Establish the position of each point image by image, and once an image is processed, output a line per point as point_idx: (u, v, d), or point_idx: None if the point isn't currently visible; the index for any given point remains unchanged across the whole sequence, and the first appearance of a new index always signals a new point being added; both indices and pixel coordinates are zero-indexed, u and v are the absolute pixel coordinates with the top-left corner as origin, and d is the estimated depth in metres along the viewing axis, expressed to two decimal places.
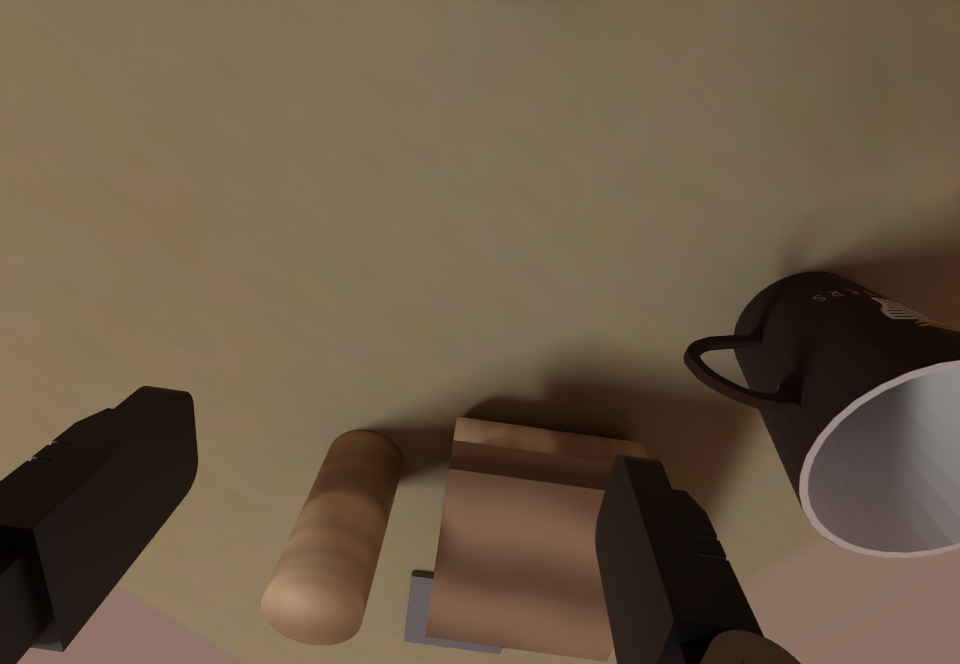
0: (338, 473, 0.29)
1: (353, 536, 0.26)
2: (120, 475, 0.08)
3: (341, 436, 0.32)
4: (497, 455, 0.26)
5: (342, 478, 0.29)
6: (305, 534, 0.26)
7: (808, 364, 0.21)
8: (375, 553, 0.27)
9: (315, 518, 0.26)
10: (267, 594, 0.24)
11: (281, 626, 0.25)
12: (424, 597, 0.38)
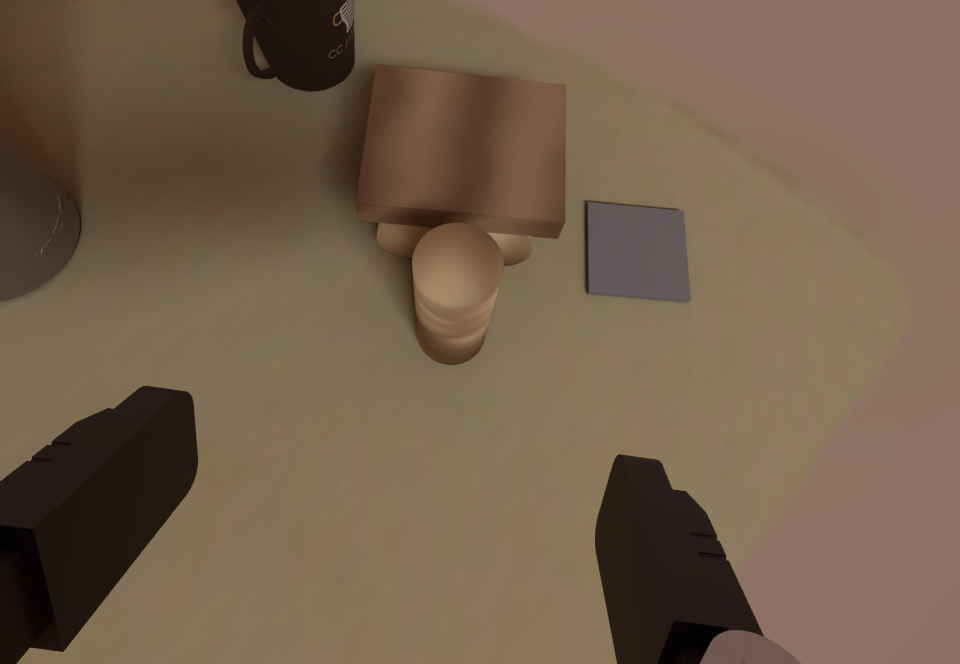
0: (416, 319, 0.33)
1: None
2: (120, 475, 0.08)
3: (423, 349, 0.35)
4: None
5: None
6: (417, 299, 0.29)
7: None
8: None
9: (416, 303, 0.30)
10: (436, 297, 0.26)
11: (481, 290, 0.26)
12: (617, 280, 0.38)
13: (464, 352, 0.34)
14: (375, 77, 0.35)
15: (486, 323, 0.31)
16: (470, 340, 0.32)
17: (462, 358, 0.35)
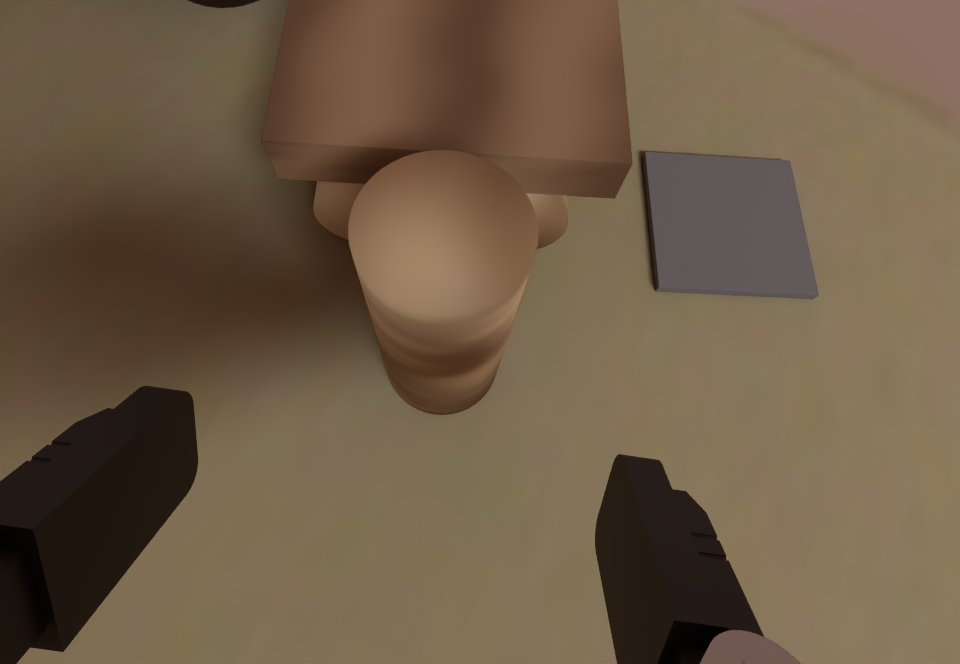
0: None
1: None
2: (119, 475, 0.08)
3: (396, 391, 0.21)
4: None
5: None
6: (368, 307, 0.15)
7: None
8: None
9: (370, 315, 0.16)
10: (400, 300, 0.12)
11: (494, 282, 0.13)
12: (702, 268, 0.24)
13: (464, 397, 0.20)
14: None
15: (502, 347, 0.17)
16: (474, 378, 0.18)
17: (462, 404, 0.21)
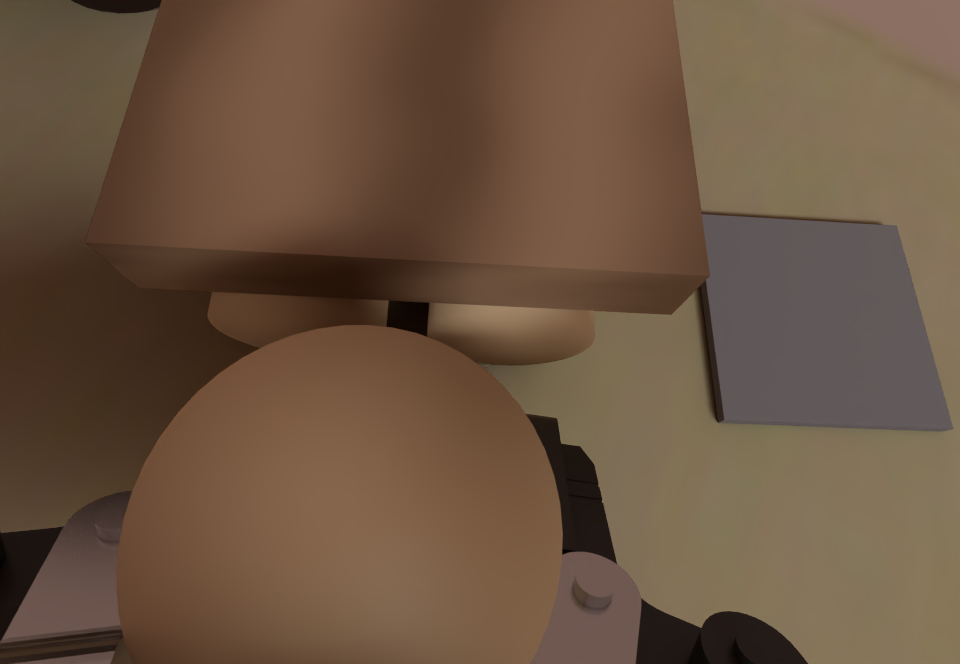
0: None
1: None
2: None
3: None
4: None
5: None
6: None
7: None
8: None
9: None
10: None
11: None
12: (784, 389, 0.17)
13: None
14: None
15: None
16: None
17: None
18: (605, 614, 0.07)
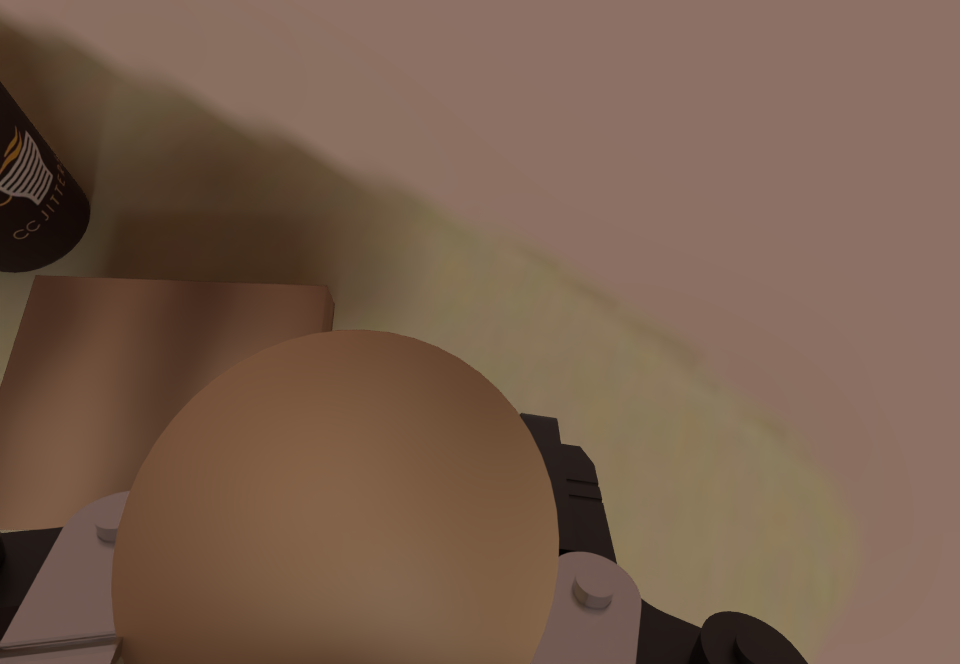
0: None
1: None
2: None
3: None
4: None
5: None
6: None
7: None
8: None
9: None
10: None
11: None
12: None
13: None
14: (30, 297, 0.23)
15: None
16: None
17: None
18: (605, 614, 0.07)
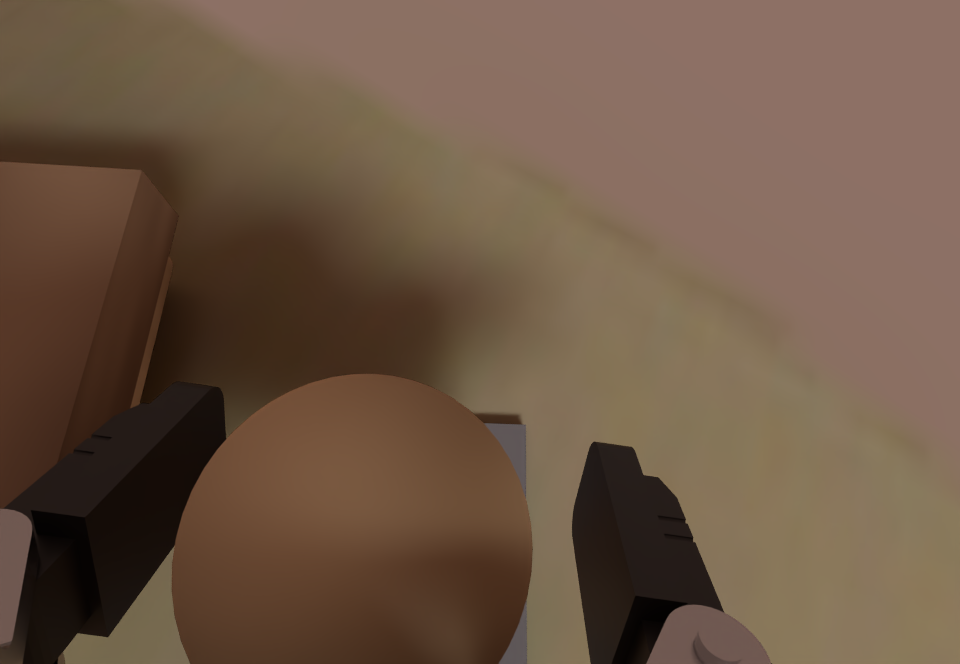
0: None
1: None
2: (159, 467, 0.09)
3: None
4: None
5: None
6: None
7: None
8: None
9: None
10: None
11: None
12: None
13: None
14: None
15: None
16: None
17: None
18: None
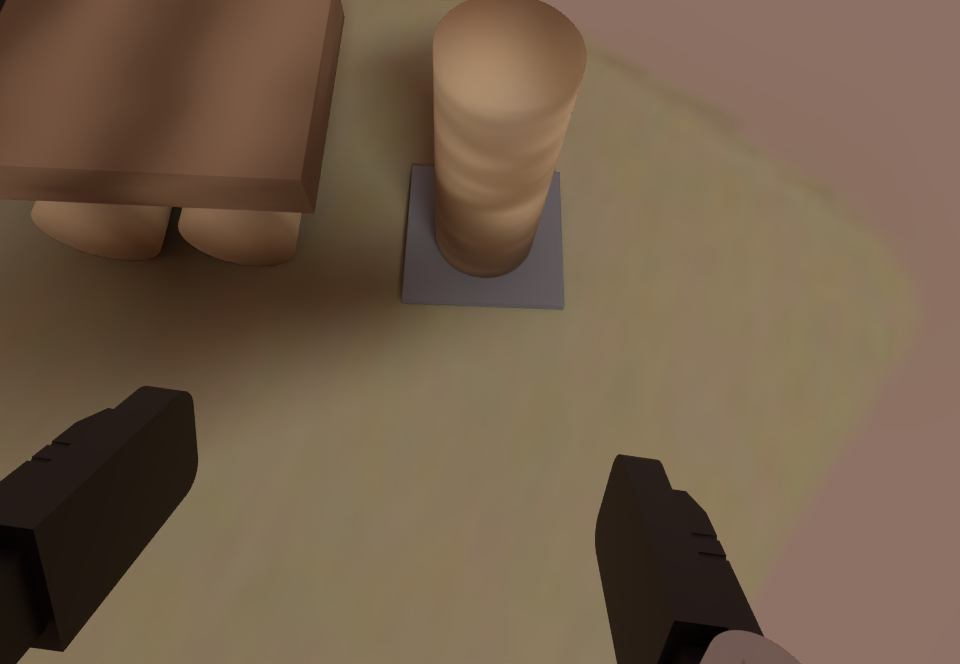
0: (436, 197, 0.22)
1: None
2: (120, 475, 0.08)
3: (446, 258, 0.24)
4: None
5: (435, 185, 0.21)
6: (440, 134, 0.18)
7: None
8: None
9: (438, 150, 0.19)
10: (478, 97, 0.15)
11: (553, 87, 0.15)
12: (449, 280, 0.24)
13: (509, 249, 0.22)
14: None
15: (546, 188, 0.20)
16: (521, 219, 0.21)
17: (505, 263, 0.23)
18: None
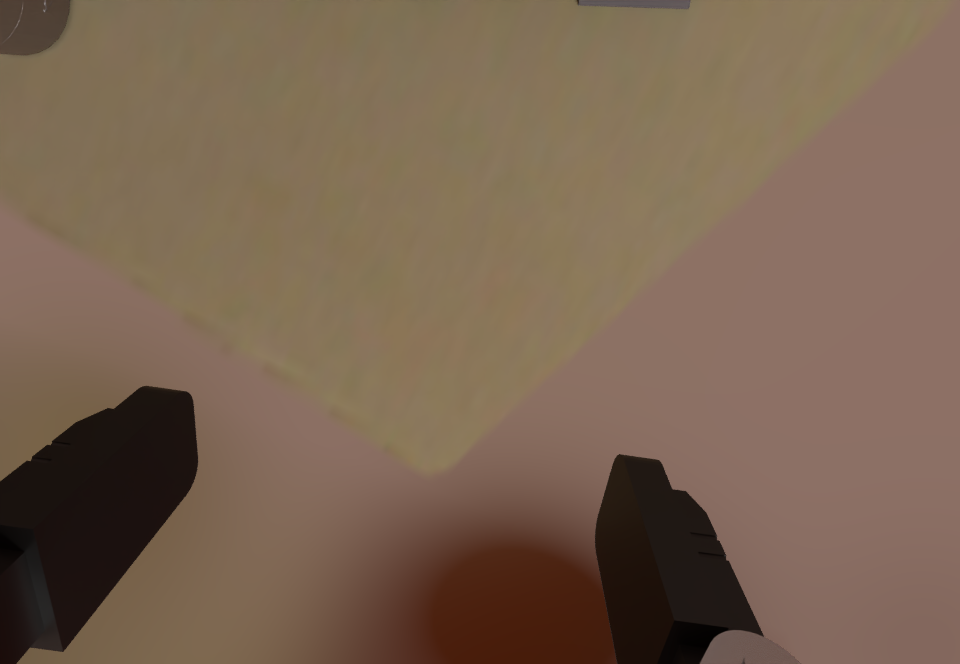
0: None
1: None
2: (120, 475, 0.08)
3: None
4: None
5: None
6: None
7: None
8: None
9: None
10: None
11: None
12: None
13: None
14: None
15: None
16: None
17: None
18: None
